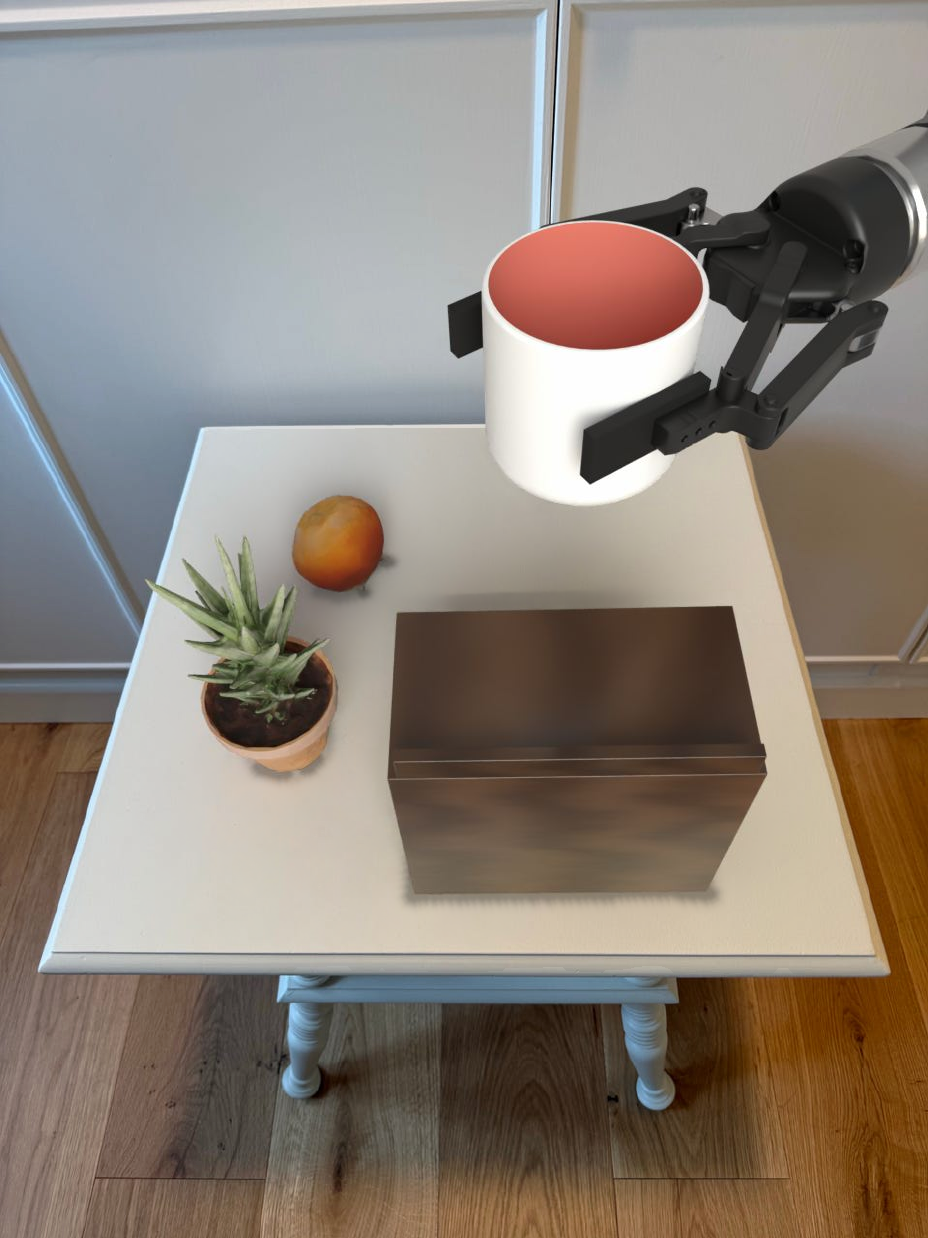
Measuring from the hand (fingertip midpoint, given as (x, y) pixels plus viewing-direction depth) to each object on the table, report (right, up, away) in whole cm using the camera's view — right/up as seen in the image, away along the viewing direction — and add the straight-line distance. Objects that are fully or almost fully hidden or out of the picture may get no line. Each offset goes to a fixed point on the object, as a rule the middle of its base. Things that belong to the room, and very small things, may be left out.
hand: (515, 391), depth 43 cm
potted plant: (-16, -20, +28) cm, 38 cm away
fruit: (-13, -6, +38) cm, 41 cm away
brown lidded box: (+4, -25, +24) cm, 35 cm away
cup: (+4, -2, +6) cm, 8 cm away
